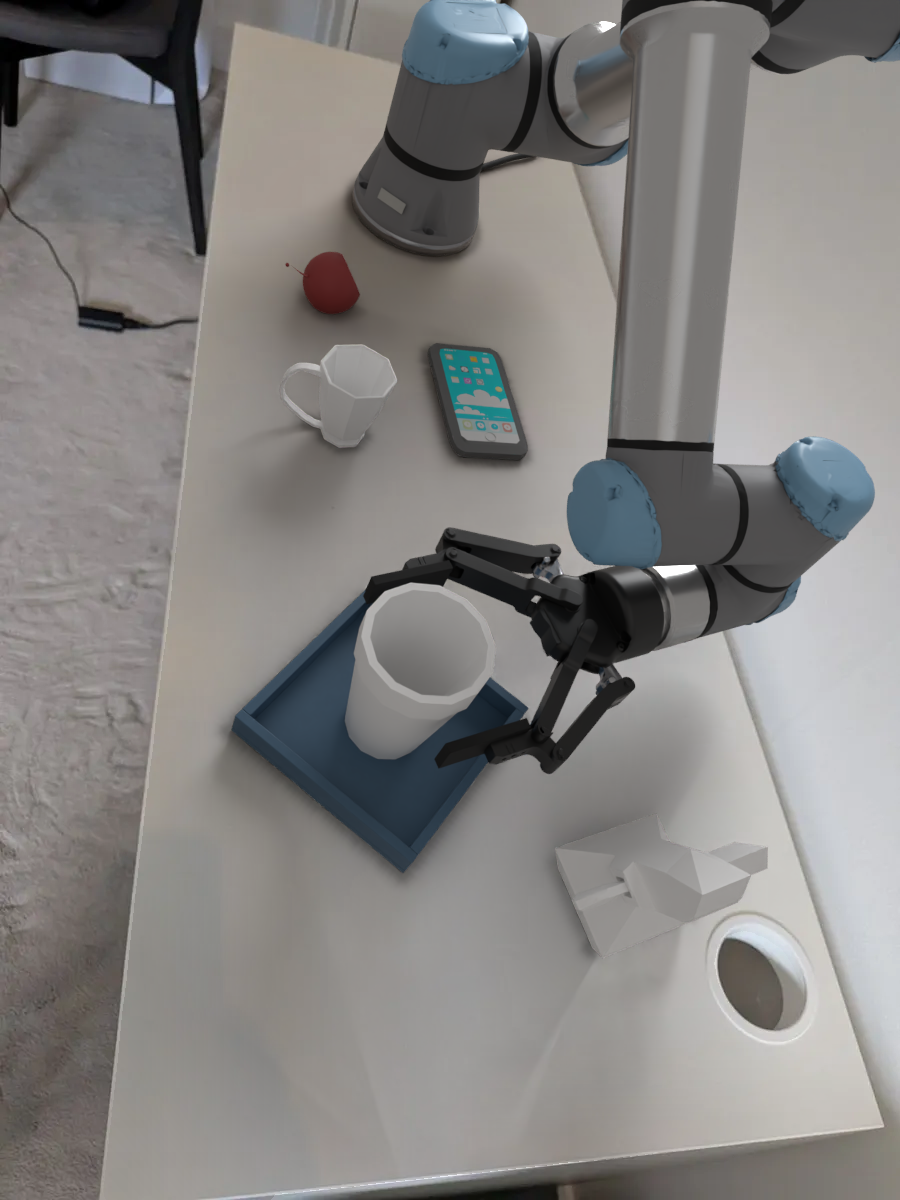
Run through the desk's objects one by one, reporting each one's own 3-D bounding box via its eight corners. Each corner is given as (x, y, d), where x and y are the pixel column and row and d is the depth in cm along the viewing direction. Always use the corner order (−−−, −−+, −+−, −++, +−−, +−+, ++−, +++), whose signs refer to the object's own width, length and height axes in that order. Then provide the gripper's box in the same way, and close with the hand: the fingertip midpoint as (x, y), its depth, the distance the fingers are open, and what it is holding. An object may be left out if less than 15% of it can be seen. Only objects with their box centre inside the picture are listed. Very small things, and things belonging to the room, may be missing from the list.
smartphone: (454, 450, 89) (426, 340, 96) (451, 456, 90) (424, 347, 97) (533, 454, 92) (500, 347, 99) (529, 460, 93) (497, 354, 100)
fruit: (302, 296, 99) (275, 242, 92) (350, 274, 99) (327, 219, 92) (319, 336, 96) (293, 284, 89) (368, 314, 96) (346, 260, 89)
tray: (364, 599, 78) (371, 583, 76) (517, 721, 76) (529, 707, 74) (230, 730, 68) (234, 715, 66) (402, 873, 66) (412, 863, 64)
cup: (374, 466, 86) (394, 407, 80) (268, 441, 84) (281, 379, 78) (380, 413, 90) (400, 353, 84) (279, 388, 88) (292, 324, 82)
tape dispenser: (511, 870, 69) (586, 808, 58) (656, 819, 75) (749, 755, 64) (557, 982, 65) (646, 939, 54) (705, 920, 71) (812, 869, 61)
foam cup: (313, 677, 72) (347, 589, 62) (421, 661, 76) (470, 576, 65) (343, 790, 68) (384, 715, 57) (455, 767, 71) (513, 694, 61)
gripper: (691, 763, 72) (458, 851, 62) (551, 514, 82) (332, 557, 72) (743, 724, 66) (495, 814, 56) (585, 460, 76) (352, 498, 66)
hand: (403, 670), depth 64 cm, fingers open, 13 cm apart
